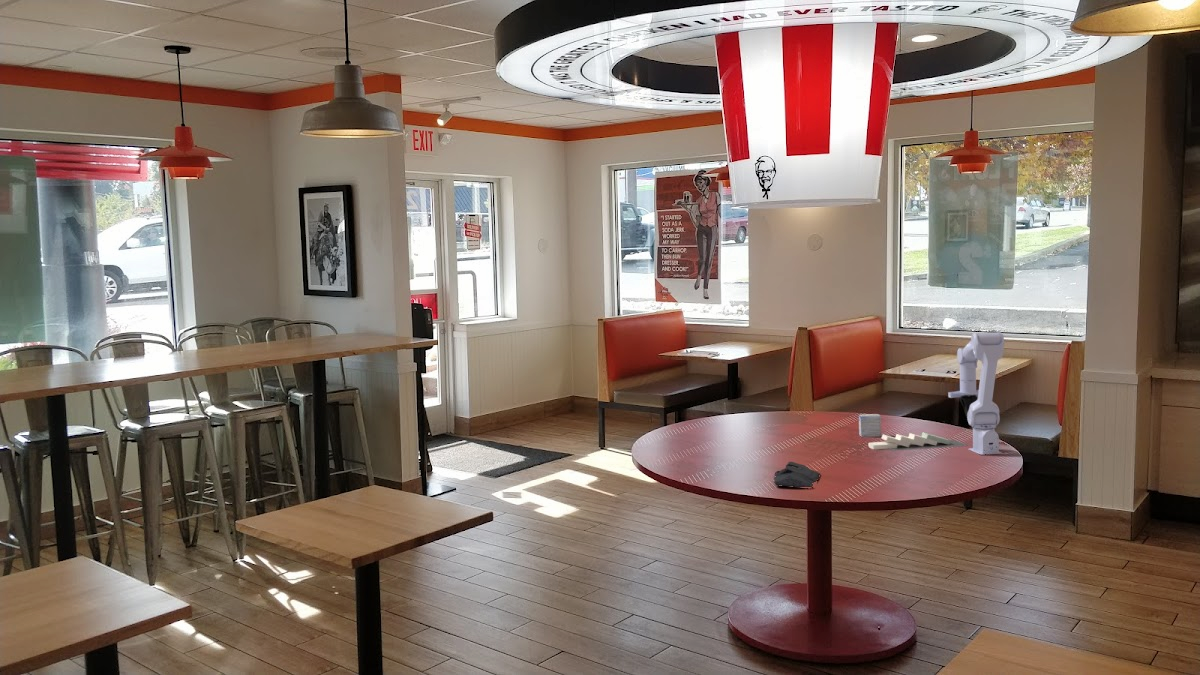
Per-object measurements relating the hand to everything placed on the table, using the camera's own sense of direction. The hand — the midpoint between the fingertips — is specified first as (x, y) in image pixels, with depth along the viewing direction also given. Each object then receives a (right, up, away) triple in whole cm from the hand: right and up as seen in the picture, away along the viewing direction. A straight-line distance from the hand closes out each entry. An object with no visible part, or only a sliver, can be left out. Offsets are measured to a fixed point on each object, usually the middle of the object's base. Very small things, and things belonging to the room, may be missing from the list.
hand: (968, 415), depth 351 cm
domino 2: (-25, -10, -4) cm, 27 cm away
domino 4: (-14, -10, -3) cm, 18 cm away
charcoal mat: (-18, -11, -3) cm, 22 cm away
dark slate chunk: (-75, -18, -46) cm, 90 cm away
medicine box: (-32, -10, +19) cm, 38 cm away
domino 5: (-9, -10, -3) cm, 13 cm away
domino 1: (-29, -11, -4) cm, 31 cm away
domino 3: (-19, -10, -3) cm, 22 cm away
